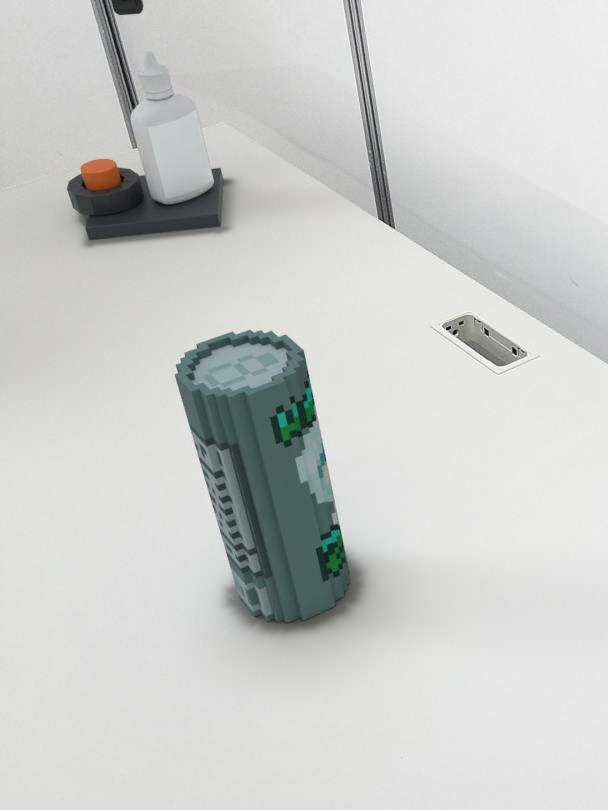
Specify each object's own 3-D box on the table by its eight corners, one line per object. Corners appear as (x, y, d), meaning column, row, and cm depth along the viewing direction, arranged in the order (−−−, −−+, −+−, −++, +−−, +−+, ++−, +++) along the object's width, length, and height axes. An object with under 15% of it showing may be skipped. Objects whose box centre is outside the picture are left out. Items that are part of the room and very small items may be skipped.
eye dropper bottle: (219, 197, 108) (186, 56, 100) (154, 209, 107) (115, 66, 99) (212, 178, 112) (179, 39, 103) (148, 189, 110) (110, 49, 102)
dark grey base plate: (71, 242, 105) (60, 209, 103) (84, 193, 112) (74, 161, 110) (220, 227, 107) (212, 194, 105) (223, 180, 114) (216, 148, 112)
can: (366, 591, 72) (322, 366, 61) (270, 636, 69) (208, 409, 59) (317, 538, 75) (268, 318, 65) (224, 579, 72) (158, 357, 62)
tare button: (84, 194, 106) (78, 174, 105) (88, 180, 108) (82, 160, 107) (120, 190, 107) (114, 171, 105) (123, 176, 109) (117, 157, 108)
